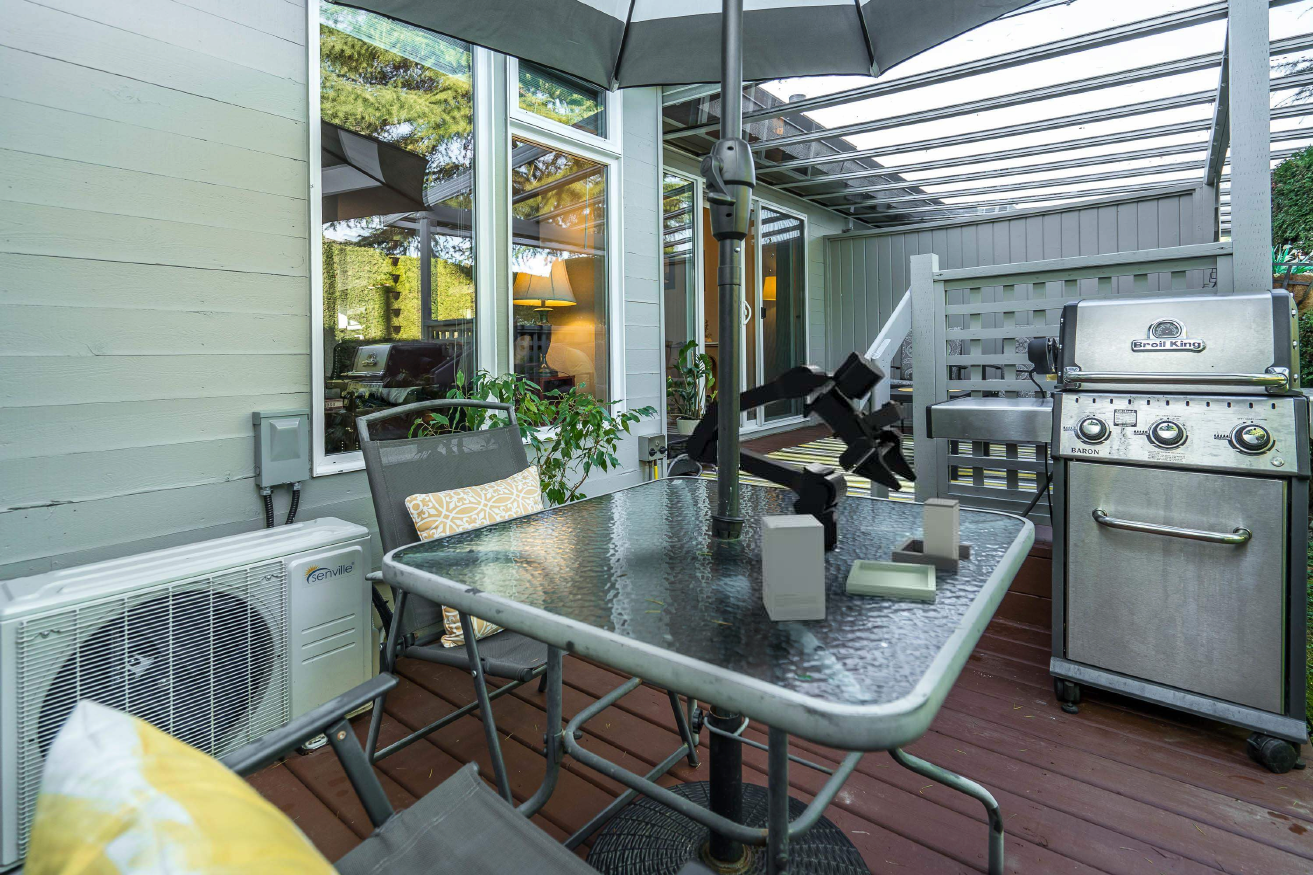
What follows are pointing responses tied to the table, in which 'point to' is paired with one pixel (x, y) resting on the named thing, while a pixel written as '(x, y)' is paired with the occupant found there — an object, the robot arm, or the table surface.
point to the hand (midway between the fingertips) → (907, 484)
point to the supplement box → (793, 567)
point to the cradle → (927, 555)
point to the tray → (892, 580)
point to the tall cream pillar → (941, 527)
